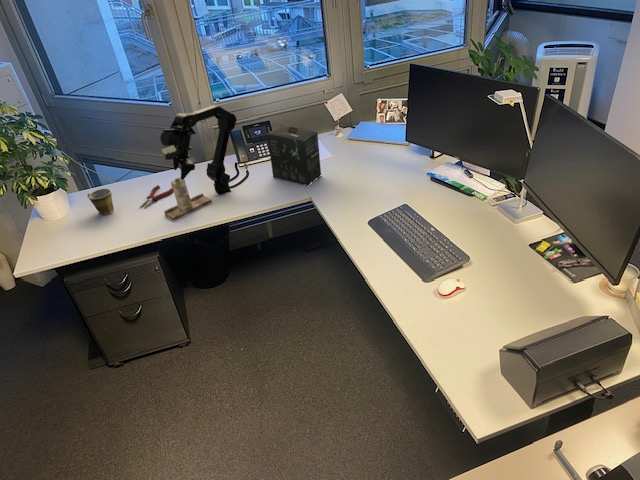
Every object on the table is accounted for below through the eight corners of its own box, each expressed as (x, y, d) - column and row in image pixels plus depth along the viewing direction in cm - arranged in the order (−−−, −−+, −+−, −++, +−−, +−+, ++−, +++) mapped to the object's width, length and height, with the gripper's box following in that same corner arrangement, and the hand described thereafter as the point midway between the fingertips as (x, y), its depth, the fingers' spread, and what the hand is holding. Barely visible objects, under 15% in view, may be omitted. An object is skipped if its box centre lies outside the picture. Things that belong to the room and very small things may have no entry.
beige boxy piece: (185, 202, 220) (177, 174, 212) (194, 207, 215) (186, 179, 207) (176, 206, 218) (167, 178, 209) (185, 212, 213) (176, 183, 204)
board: (202, 197, 226) (201, 192, 225) (211, 202, 221) (210, 197, 220) (165, 215, 216) (163, 210, 214) (173, 220, 211) (172, 216, 209)
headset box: (322, 175, 233) (317, 127, 218) (309, 186, 225) (303, 136, 210) (286, 168, 244) (279, 121, 229) (272, 178, 236) (264, 130, 221)
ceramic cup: (122, 207, 226) (115, 189, 220) (108, 218, 218) (100, 200, 212) (101, 204, 230) (93, 187, 224) (86, 215, 222) (78, 197, 216)
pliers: (133, 208, 225) (131, 204, 223) (158, 188, 240) (156, 184, 238) (152, 211, 221) (150, 206, 219) (176, 190, 236) (175, 186, 234)
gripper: (158, 133, 204) (154, 164, 212) (172, 152, 192) (167, 185, 200) (182, 134, 210) (177, 165, 218) (198, 152, 199) (192, 184, 207)
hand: (178, 174), depth 211 cm, fingers open, 9 cm apart
